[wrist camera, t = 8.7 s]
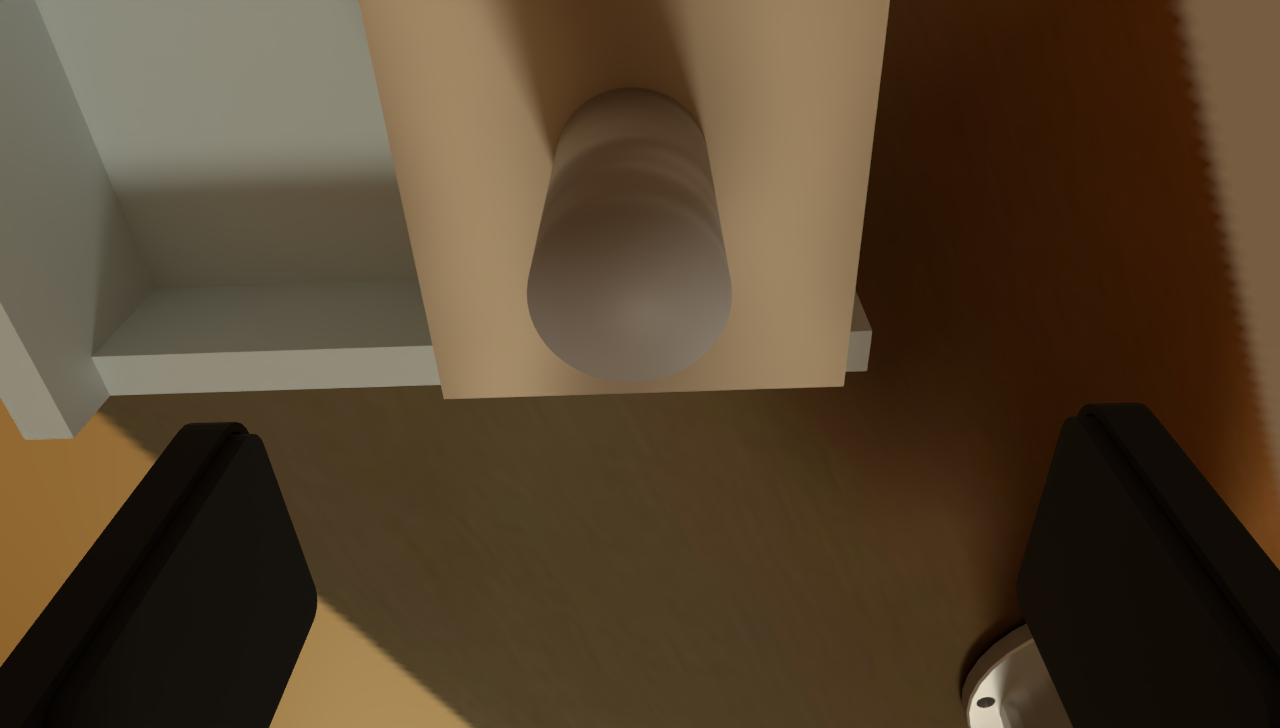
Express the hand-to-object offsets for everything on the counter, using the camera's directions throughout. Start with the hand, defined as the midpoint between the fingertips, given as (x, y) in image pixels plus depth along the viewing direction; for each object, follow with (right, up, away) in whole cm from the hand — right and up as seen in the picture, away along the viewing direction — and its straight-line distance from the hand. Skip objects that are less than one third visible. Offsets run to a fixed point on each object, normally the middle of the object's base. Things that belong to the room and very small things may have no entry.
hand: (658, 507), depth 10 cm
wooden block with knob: (0, +10, +13) cm, 17 cm away
